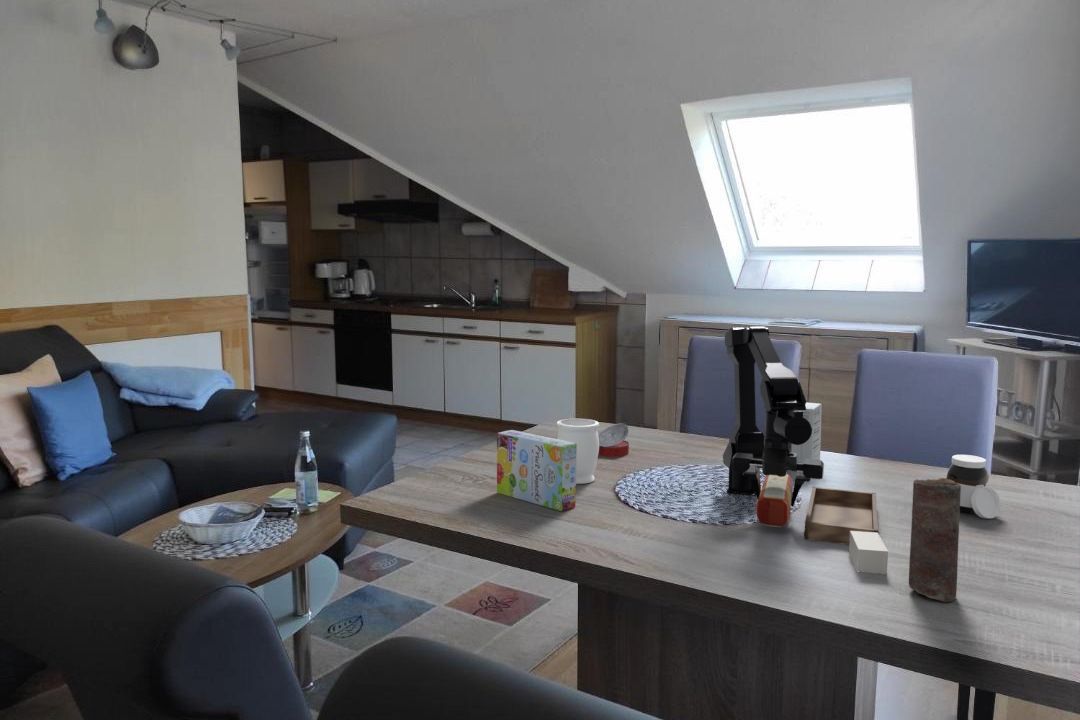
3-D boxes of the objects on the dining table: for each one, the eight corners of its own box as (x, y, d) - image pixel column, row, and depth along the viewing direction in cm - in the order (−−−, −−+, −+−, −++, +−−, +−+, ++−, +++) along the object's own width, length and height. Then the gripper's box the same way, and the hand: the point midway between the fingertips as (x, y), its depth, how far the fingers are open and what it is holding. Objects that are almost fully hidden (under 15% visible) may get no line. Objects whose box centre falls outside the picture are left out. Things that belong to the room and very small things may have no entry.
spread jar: (955, 500, 190) (958, 451, 188) (1008, 511, 182) (1012, 460, 180) (935, 511, 182) (939, 460, 180) (991, 523, 174) (995, 470, 172)
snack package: (763, 496, 187) (764, 467, 186) (793, 499, 185) (795, 470, 184) (754, 526, 167) (756, 494, 166) (788, 530, 165) (790, 497, 164)
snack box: (577, 507, 185) (578, 442, 183) (561, 512, 181) (561, 446, 179) (511, 488, 199) (511, 428, 197) (495, 493, 195) (494, 431, 193)
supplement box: (820, 464, 221) (823, 403, 219) (812, 472, 213) (815, 409, 211) (785, 459, 226) (788, 399, 224) (775, 466, 219) (778, 405, 216)
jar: (550, 483, 203) (551, 424, 201) (565, 472, 213) (565, 416, 211) (591, 487, 199) (591, 428, 197) (604, 477, 209) (604, 419, 207)
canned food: (627, 471, 232) (632, 445, 226) (592, 467, 232) (596, 441, 226) (626, 444, 241) (631, 419, 235) (592, 441, 241) (597, 415, 235)
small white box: (857, 573, 148) (858, 549, 147) (848, 553, 157) (850, 530, 157) (886, 575, 147) (888, 551, 146) (876, 555, 156) (877, 532, 156)
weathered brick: (907, 599, 136) (915, 483, 133) (905, 582, 143) (912, 471, 140) (958, 606, 133) (967, 488, 131) (953, 589, 140) (961, 476, 137)
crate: (804, 539, 164) (804, 522, 164) (811, 501, 189) (812, 486, 188) (877, 548, 159) (878, 530, 159) (875, 508, 184) (876, 493, 183)
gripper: (728, 438, 169) (726, 510, 172) (823, 446, 163) (819, 521, 165) (736, 427, 180) (733, 495, 182) (825, 434, 173) (821, 505, 175)
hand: (775, 504), depth 176 cm, fingers closed on snack package, 6 cm apart
